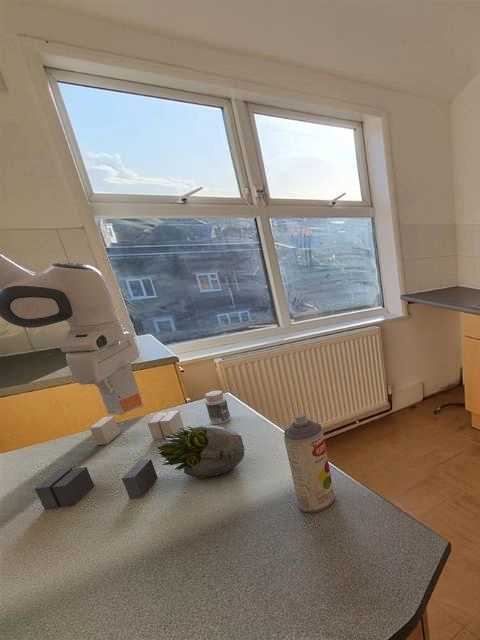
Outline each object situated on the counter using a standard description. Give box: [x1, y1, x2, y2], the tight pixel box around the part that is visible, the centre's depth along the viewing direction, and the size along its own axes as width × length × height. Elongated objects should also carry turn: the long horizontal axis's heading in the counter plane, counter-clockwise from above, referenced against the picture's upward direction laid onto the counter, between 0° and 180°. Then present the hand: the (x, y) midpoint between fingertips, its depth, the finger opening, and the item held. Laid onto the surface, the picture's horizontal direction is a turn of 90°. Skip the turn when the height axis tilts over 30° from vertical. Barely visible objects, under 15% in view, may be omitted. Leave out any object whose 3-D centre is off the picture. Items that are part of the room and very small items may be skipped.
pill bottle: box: [204, 390, 231, 425], centre depth 119 cm, size 5×5×8 cm
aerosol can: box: [283, 413, 336, 514], centre depth 85 cm, size 7×7×20 cm
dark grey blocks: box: [34, 458, 159, 510], centre depth 89 cm, size 16×7×5 cm, turn 105°
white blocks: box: [89, 410, 185, 446], centre depth 111 cm, size 17×6×5 cm, turn 105°
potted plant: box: [156, 424, 245, 479], centre depth 95 cm, size 12×13×15 cm
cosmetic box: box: [98, 362, 145, 416], centre depth 107 cm, size 6×4×12 cm
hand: (118, 387), depth 107 cm, fingers closed on cosmetic box, 7 cm apart
